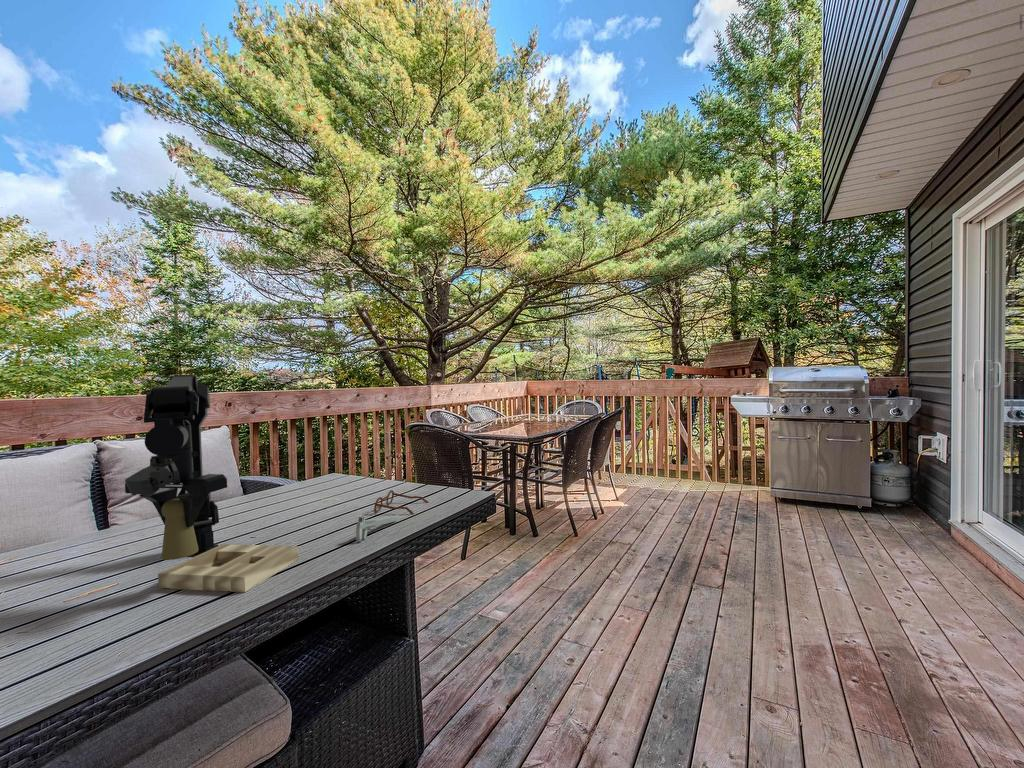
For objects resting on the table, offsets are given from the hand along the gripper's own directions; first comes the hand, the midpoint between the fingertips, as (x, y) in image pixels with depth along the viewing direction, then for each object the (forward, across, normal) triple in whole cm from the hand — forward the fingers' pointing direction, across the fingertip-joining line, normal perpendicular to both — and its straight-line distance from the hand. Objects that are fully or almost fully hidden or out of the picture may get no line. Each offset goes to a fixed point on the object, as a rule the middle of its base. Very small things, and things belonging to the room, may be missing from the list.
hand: (179, 526), depth 91 cm
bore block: (+13, +5, +8) cm, 16 cm away
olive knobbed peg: (+6, 0, 0) cm, 6 cm away
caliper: (+13, +24, +37) cm, 46 cm away
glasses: (+14, +21, +57) cm, 62 cm away
